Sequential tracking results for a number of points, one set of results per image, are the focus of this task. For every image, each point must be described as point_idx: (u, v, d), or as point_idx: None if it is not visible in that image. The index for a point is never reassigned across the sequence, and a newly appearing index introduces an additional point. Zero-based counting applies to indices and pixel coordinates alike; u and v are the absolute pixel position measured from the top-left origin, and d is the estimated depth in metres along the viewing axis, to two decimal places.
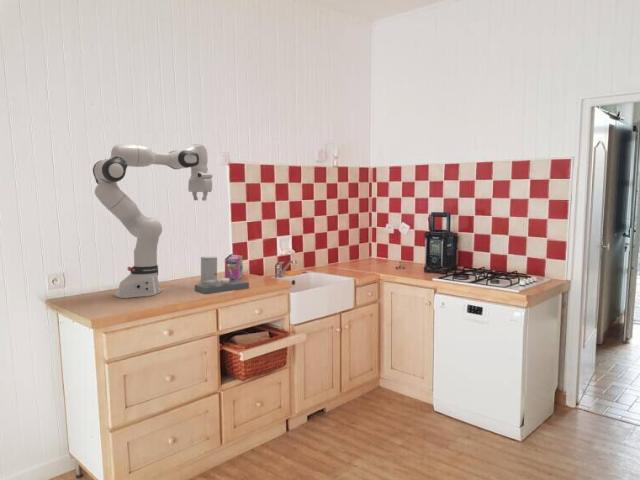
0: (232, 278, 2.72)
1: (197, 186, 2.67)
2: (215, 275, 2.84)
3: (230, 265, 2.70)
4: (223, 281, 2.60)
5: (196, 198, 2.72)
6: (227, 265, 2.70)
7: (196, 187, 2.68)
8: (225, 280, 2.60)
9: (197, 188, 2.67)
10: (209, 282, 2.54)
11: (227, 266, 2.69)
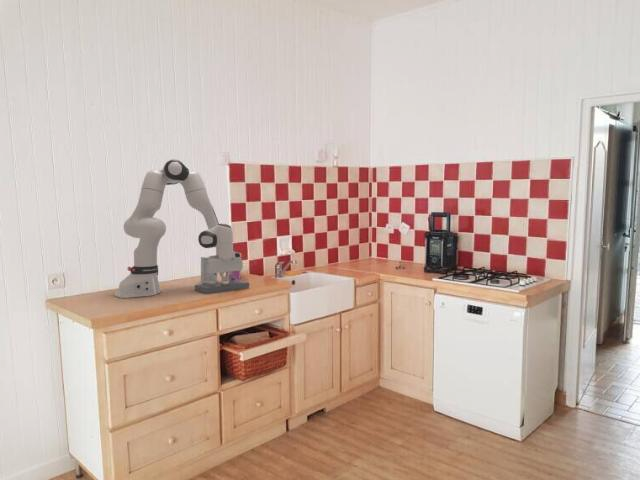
0: (232, 278, 2.72)
1: (227, 266, 2.60)
2: (215, 275, 2.84)
3: None
4: (223, 283, 2.60)
5: None
6: None
7: (225, 267, 2.59)
8: (225, 282, 2.60)
9: (227, 269, 2.60)
10: (209, 282, 2.54)
11: None
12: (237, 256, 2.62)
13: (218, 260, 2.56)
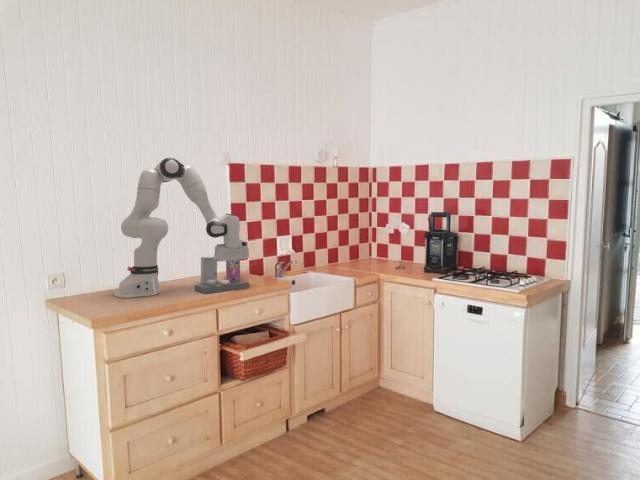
0: (232, 277, 2.72)
1: (234, 254, 2.70)
2: (215, 275, 2.84)
3: (236, 264, 2.73)
4: (223, 283, 2.60)
5: None
6: None
7: (232, 255, 2.69)
8: (225, 282, 2.60)
9: (234, 257, 2.70)
10: (209, 282, 2.54)
11: None
12: (244, 245, 2.72)
13: (225, 248, 2.66)
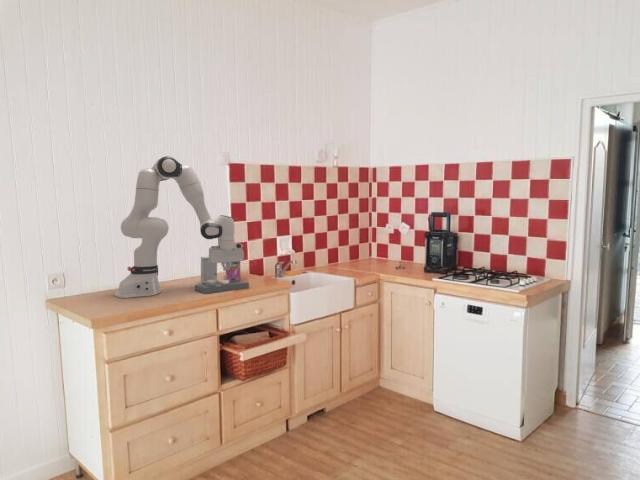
0: (233, 277, 2.72)
1: (229, 256, 2.68)
2: (215, 275, 2.84)
3: (239, 266, 2.74)
4: (223, 283, 2.60)
5: None
6: (237, 264, 2.74)
7: (226, 257, 2.67)
8: (225, 282, 2.60)
9: (229, 259, 2.68)
10: (209, 282, 2.54)
11: (237, 264, 2.73)
12: (238, 247, 2.70)
13: (220, 250, 2.64)
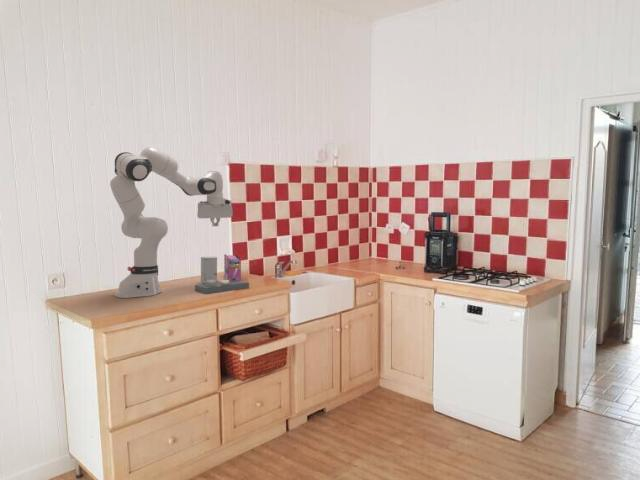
0: (233, 277, 2.72)
1: (218, 212, 2.71)
2: (215, 275, 2.84)
3: None
4: (223, 283, 2.60)
5: None
6: (237, 264, 2.74)
7: (215, 213, 2.70)
8: (225, 282, 2.60)
9: (218, 215, 2.71)
10: (209, 282, 2.54)
11: (237, 264, 2.73)
12: (227, 203, 2.73)
13: (208, 206, 2.67)
